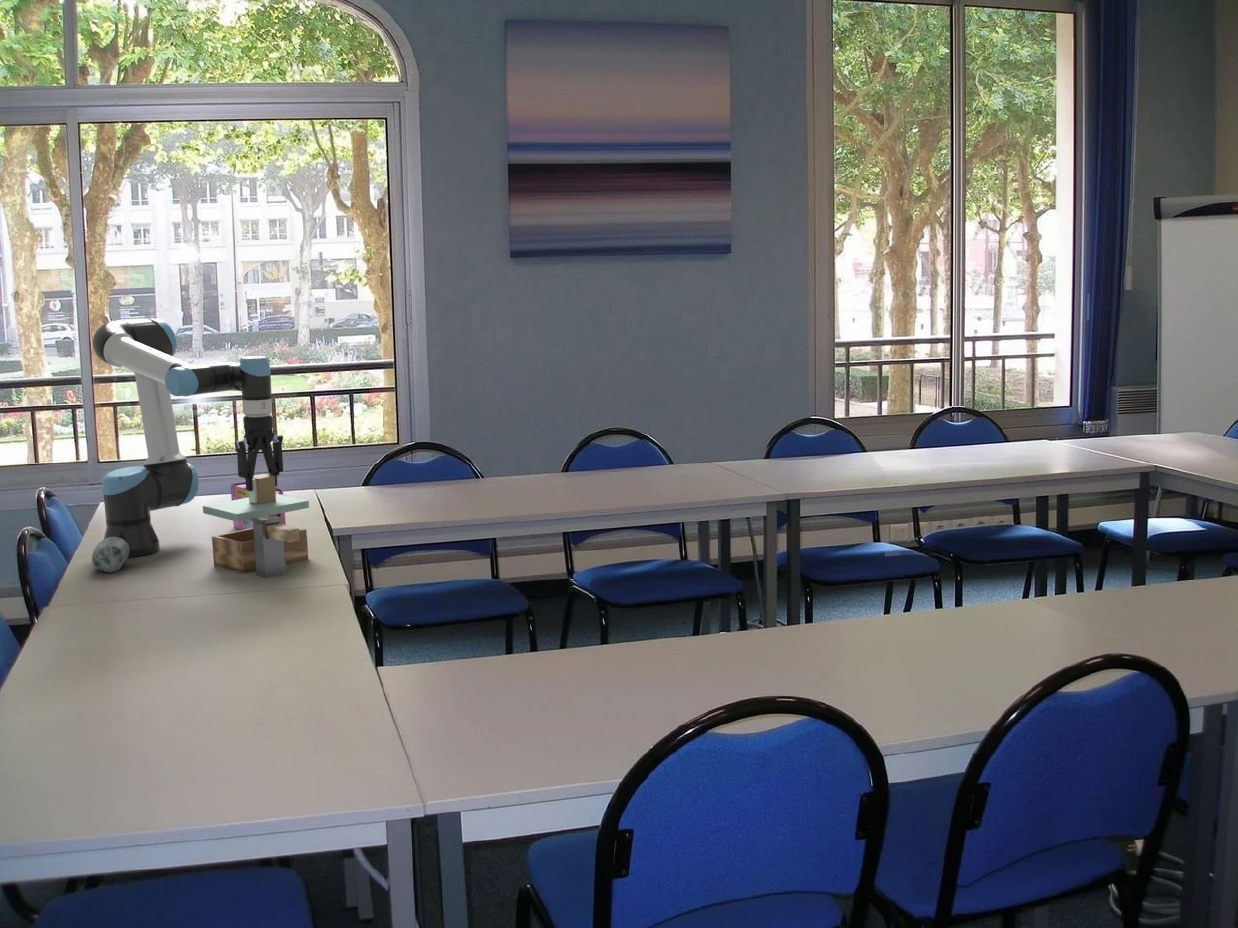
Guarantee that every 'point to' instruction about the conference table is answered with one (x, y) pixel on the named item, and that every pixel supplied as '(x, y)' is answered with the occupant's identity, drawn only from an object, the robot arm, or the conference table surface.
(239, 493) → the gum box
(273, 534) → the wooden bar
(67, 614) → the conference table surface
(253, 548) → the open wooden box
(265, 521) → the keeper
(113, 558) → the spool
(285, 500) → the lid
